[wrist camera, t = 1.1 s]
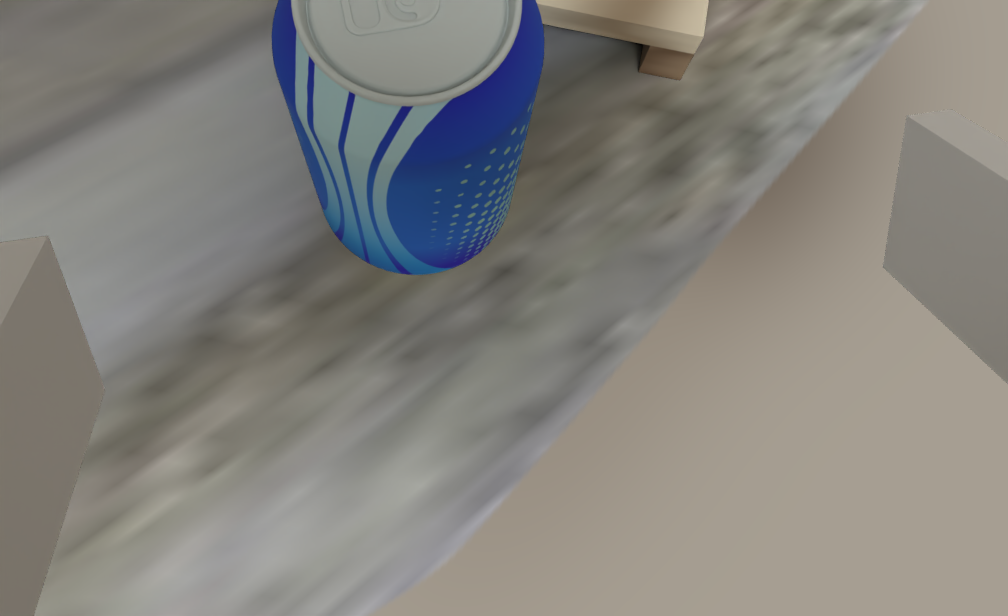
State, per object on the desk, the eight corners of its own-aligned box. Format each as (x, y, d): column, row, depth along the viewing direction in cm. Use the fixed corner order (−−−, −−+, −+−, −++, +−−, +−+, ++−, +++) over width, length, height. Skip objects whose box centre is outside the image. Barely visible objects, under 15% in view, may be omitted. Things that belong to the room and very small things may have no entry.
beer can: (378, 75, 44) (349, -177, 28) (541, 157, 43) (602, -54, 28) (287, 229, 42) (200, 48, 26) (456, 316, 41) (471, 184, 26)
